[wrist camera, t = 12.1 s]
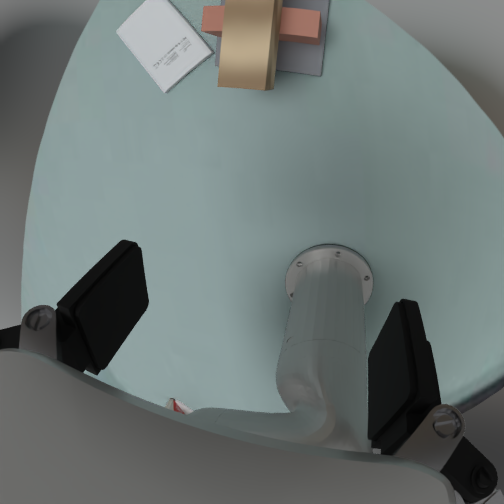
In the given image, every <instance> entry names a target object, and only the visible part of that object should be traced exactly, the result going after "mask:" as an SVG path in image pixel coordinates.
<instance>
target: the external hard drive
mask: <svg viewBox="0 0 504 504" xmlns="http://www.w3.org/2000/svg"><path fill="white" fill-rule="evenodd" d="M116 33H117V34H118V35H119V37H120V38H121V39H122V40H123V42H124V43H125V44H126V45H127V47H128V48H129V49H130V50H131V52H132V53H133V54H134V55H135V57H136V58H137V59H138V60H139V62H140V63H141V64H142V66H143V67H144V68H145V69H146V71H147V72H148V73H149V74H150V76H151V77H152V78H153V80H154V81H155V82H156V83H157V85H158V86H159V87H160V89H161V90H162V91H163V92H164V93H167V92H168V91H170V90H171V89H172V88H173V87H174V86H175V85H176V84H177V83H179V82H180V81H181V80H182V79H183V78H184V77H185V76H186V75H187V74H188V73H189V72H190V71H192V70H193V69H195V68H196V67H197V66H199V65H200V64H201V63H202V62H204V61H205V60H206V59H207V58H209V57H210V56H211V55H212V54H214V52H213V50H212V49H211V48H210V47H209V45H208V44H207V43H206V42H205V41H204V39H203V38H202V37H201V36H200V35H199V33H198V32H197V31H196V30H195V29H194V28H193V26H192V25H191V24H190V23H189V22H188V21H187V20H186V18H185V17H184V16H183V15H182V14H181V13H180V12H179V11H178V10H177V8H176V7H175V6H174V5H173V4H172V3H171V2H170V1H169V0H146V1H145V2H144V3H143V4H142V5H141V6H140V7H139V8H138V9H137V10H136V11H135V12H134V13H133V14H132V15H131V16H130V17H129V18H128V19H127V20H126V21H125V22H124V23H123V24H122V25H121V26H120V27H119V28H118V30H117V31H116Z"/></svg>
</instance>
